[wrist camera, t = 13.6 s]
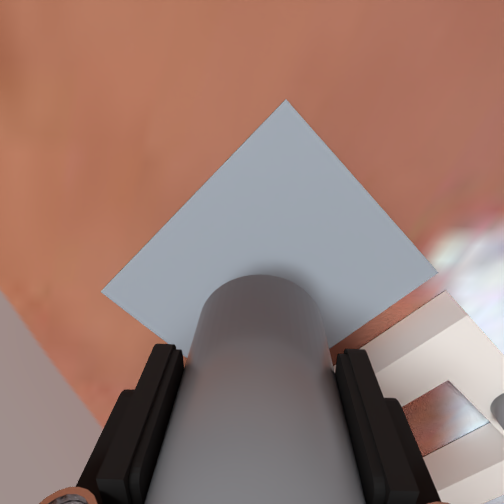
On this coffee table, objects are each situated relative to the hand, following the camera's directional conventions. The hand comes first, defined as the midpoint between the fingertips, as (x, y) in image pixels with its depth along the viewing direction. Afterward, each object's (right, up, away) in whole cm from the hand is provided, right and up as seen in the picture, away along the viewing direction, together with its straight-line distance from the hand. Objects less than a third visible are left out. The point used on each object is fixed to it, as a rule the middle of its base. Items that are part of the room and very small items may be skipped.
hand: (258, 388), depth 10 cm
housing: (+9, -5, +9) cm, 14 cm away
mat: (0, +3, +6) cm, 7 cm away
